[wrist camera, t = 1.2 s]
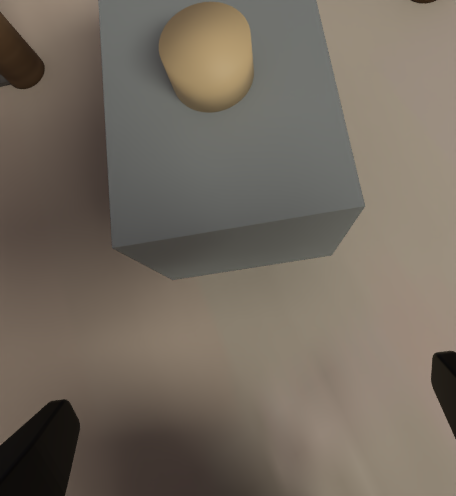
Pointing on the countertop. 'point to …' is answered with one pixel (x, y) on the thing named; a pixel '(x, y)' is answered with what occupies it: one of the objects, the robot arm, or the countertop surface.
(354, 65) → the countertop surface
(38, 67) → the brown l-shaped pieces
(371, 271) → the countertop surface
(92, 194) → the countertop surface
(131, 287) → the countertop surface
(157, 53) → the gray block
